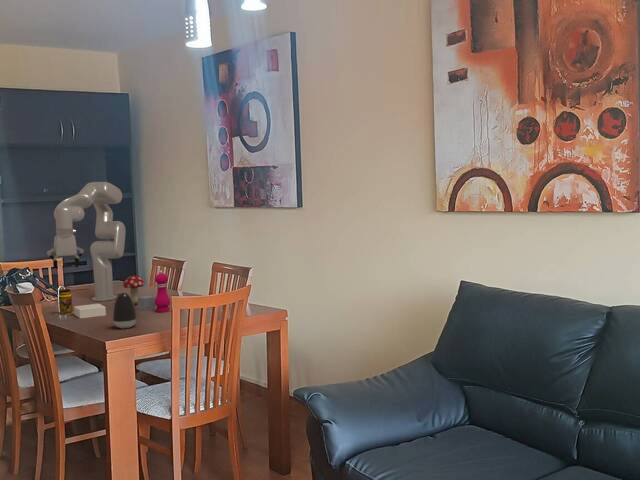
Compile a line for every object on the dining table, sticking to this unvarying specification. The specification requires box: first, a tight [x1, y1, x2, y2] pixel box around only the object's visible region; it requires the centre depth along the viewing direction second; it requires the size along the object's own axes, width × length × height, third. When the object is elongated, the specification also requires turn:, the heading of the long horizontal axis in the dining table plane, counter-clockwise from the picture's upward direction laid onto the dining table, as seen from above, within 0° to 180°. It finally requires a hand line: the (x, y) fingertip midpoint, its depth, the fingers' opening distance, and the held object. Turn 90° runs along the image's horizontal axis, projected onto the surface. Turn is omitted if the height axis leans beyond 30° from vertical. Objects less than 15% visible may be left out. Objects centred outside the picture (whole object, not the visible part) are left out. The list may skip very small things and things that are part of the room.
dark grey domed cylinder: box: [111, 292, 138, 329], centre depth 314 cm, size 10×10×15 cm
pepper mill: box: [154, 270, 171, 313], centre depth 348 cm, size 7×7×20 cm
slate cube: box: [137, 295, 157, 311], centre depth 357 cm, size 6×6×6 cm
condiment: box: [52, 288, 74, 316], centre depth 351 cm, size 7×8×12 cm
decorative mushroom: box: [122, 275, 145, 306], centre depth 370 cm, size 11×11×15 cm
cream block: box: [73, 303, 107, 319], centre depth 346 cm, size 12×12×4 cm
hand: (66, 267), depth 350 cm, fingers open, 9 cm apart
